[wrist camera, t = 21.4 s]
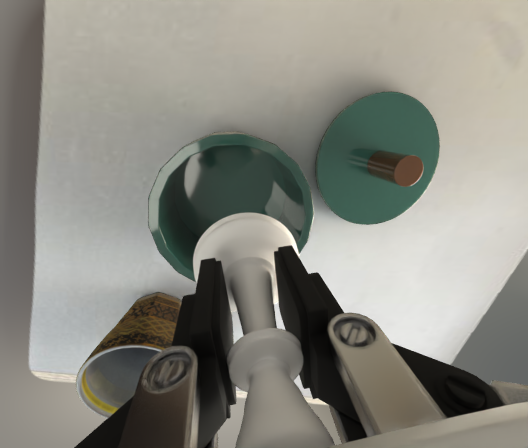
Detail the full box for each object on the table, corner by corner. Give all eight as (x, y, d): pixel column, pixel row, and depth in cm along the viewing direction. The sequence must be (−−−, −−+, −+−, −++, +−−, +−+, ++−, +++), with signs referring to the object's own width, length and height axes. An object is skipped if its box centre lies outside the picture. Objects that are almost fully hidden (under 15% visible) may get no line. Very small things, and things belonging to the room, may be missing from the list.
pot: (301, 141, 28) (329, 147, 21) (279, 254, 33) (296, 292, 25) (170, 120, 26) (148, 118, 18) (166, 246, 30) (148, 286, 23)
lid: (450, 105, 29) (506, 101, 23) (407, 226, 34) (445, 246, 28) (330, 80, 26) (360, 68, 21) (302, 215, 31) (319, 235, 26)
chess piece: (170, 250, 11) (-42, 769, 2) (265, 191, 11) (477, 504, 2) (231, 320, 13) (255, 762, 4) (314, 272, 13) (540, 627, 4)
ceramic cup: (106, 331, 33) (61, 412, 24) (134, 268, 30) (95, 331, 21) (201, 357, 37) (194, 435, 28) (233, 303, 34) (237, 369, 25)
